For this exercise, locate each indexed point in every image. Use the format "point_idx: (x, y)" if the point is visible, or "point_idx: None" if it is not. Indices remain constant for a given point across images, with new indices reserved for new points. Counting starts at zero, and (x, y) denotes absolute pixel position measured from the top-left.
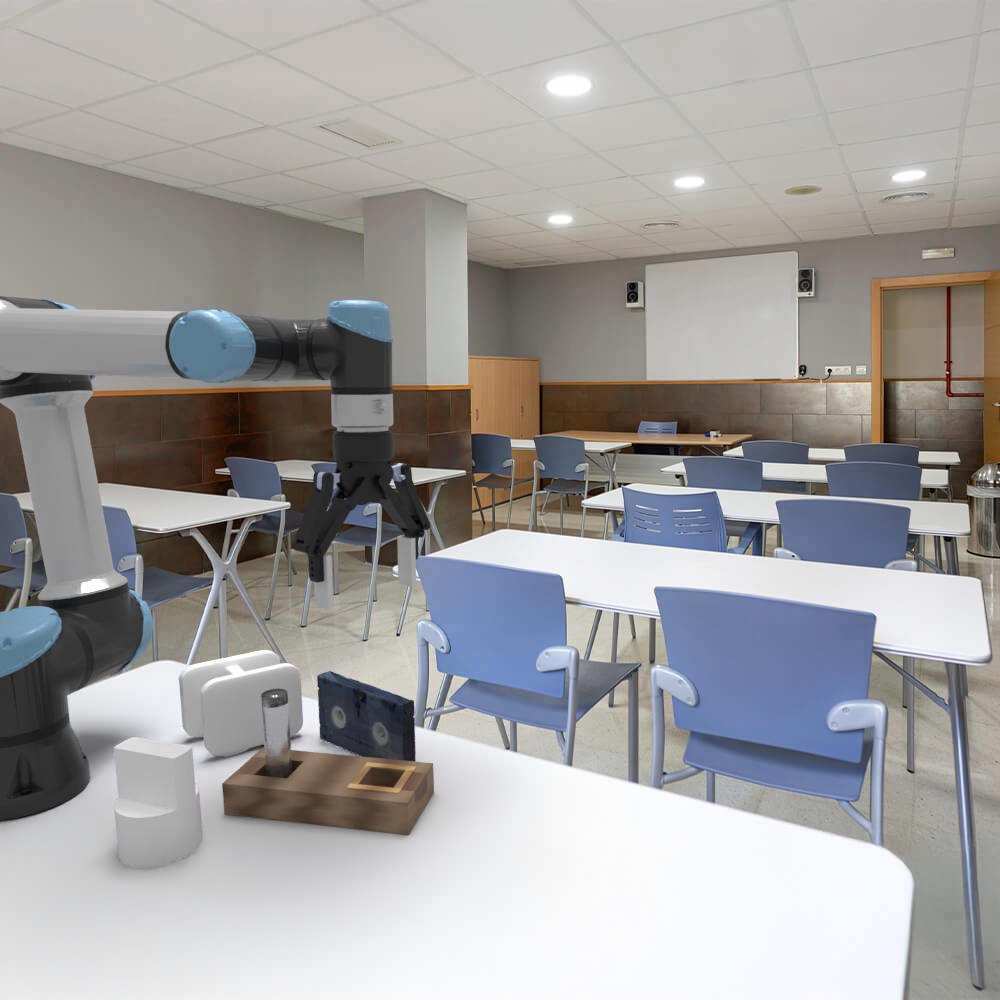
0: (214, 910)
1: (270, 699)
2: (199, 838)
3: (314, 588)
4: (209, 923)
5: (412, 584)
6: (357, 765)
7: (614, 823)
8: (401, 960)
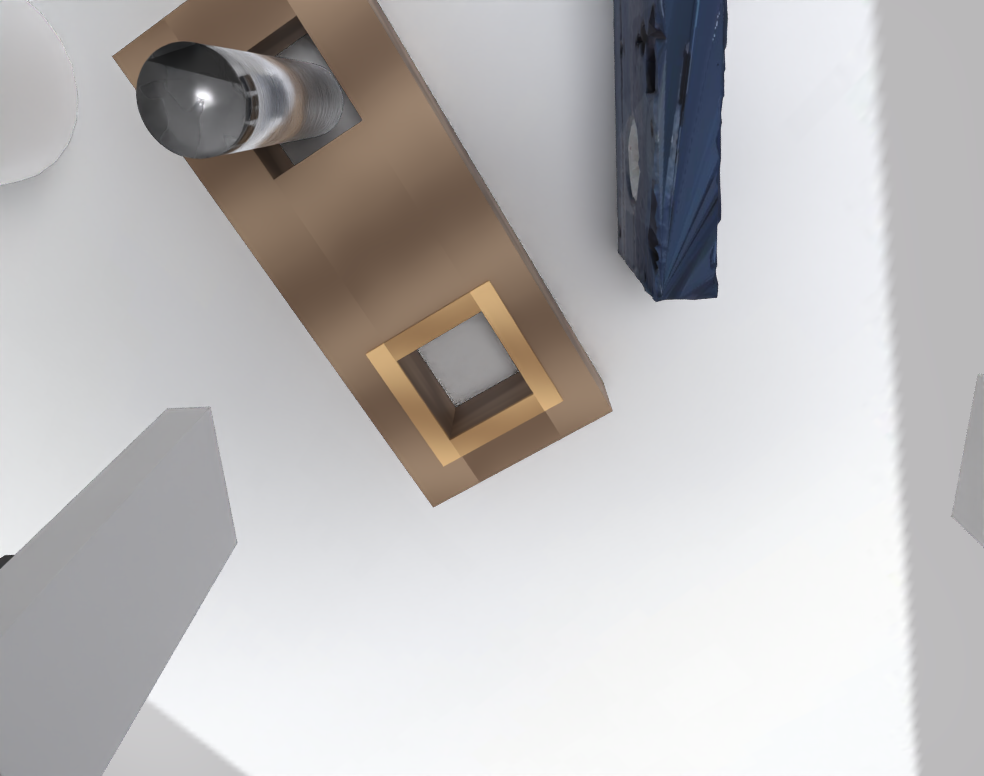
0: (22, 399)
1: (158, 139)
2: (52, 155)
3: (110, 467)
4: (4, 426)
5: (966, 527)
6: (462, 267)
7: (746, 713)
8: (224, 696)
